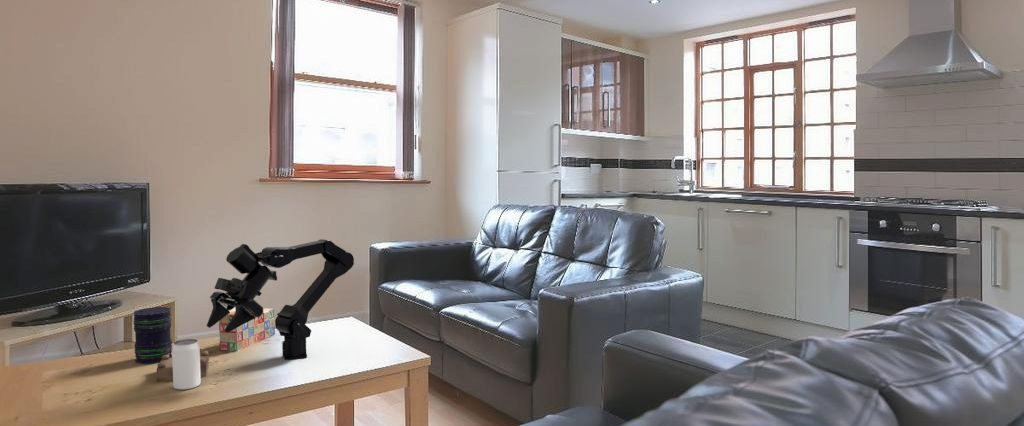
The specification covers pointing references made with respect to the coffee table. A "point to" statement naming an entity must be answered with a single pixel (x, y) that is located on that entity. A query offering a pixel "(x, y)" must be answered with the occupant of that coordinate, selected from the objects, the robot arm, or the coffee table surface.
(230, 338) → the stack of blocks
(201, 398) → the coffee table surface
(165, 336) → the storage jar
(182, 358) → the can
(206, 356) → the base brick
